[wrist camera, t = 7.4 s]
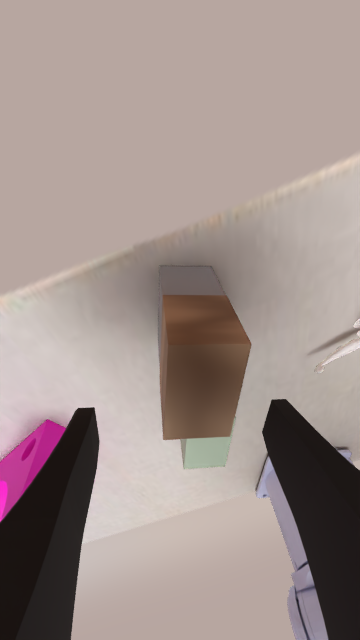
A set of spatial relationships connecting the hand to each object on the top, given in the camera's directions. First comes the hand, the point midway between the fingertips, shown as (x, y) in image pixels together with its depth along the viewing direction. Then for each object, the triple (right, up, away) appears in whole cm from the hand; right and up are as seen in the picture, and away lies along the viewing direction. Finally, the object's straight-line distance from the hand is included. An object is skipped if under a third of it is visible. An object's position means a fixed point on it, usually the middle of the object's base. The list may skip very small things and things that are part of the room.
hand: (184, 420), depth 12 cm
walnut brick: (0, +3, +5) cm, 6 cm away
